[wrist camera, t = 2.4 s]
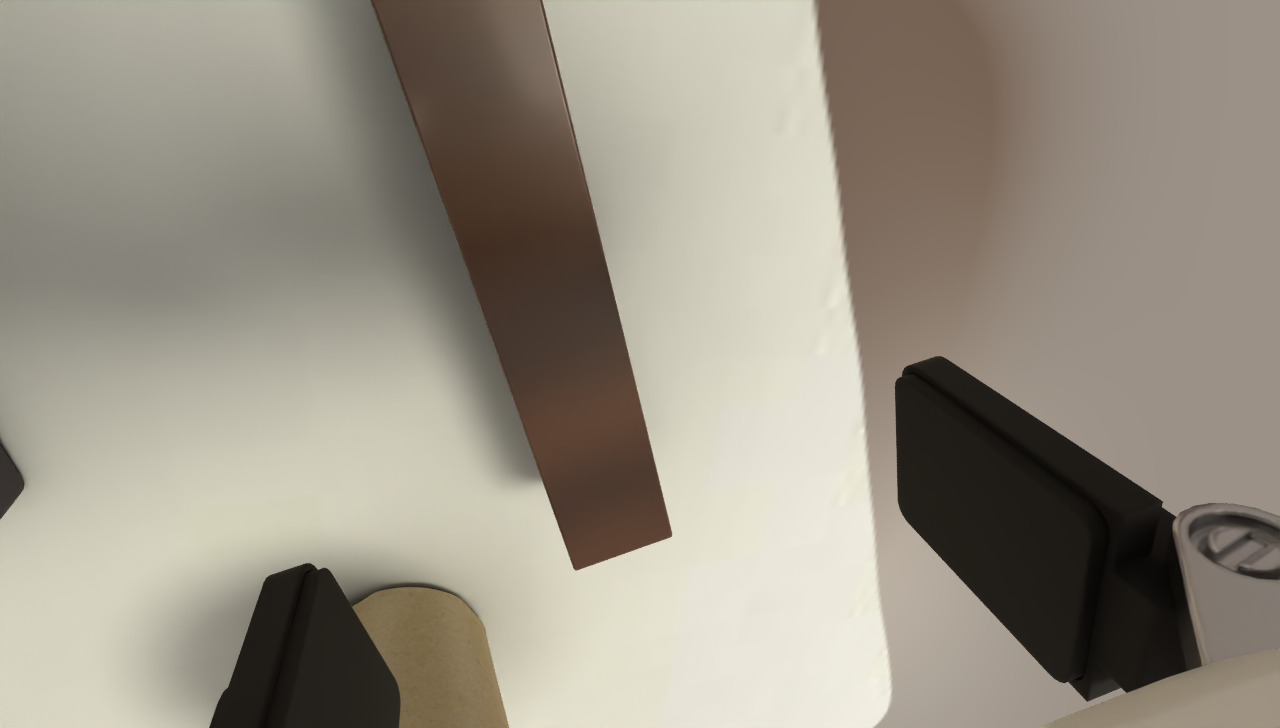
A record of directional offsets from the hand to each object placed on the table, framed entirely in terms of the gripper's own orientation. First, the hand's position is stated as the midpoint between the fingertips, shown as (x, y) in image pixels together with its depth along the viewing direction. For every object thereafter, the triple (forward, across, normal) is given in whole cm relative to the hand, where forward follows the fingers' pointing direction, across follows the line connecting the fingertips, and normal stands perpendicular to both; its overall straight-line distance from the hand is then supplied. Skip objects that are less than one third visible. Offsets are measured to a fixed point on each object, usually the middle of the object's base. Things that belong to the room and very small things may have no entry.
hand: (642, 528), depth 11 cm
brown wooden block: (+12, 0, -1) cm, 12 cm away
